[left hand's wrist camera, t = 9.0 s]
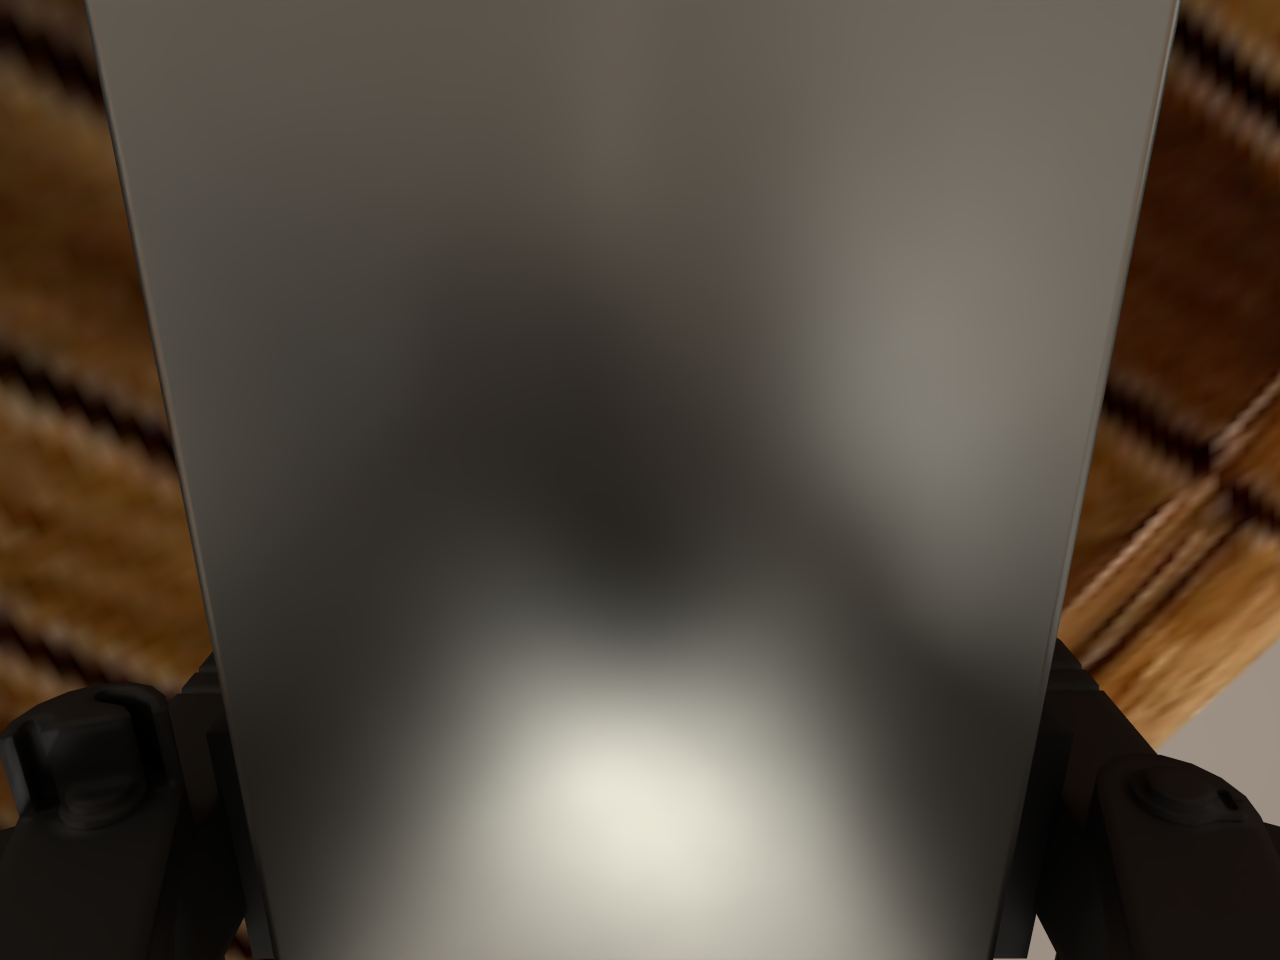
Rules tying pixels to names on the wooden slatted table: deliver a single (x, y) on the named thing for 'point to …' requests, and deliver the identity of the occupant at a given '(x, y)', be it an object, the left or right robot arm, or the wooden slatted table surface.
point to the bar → (633, 446)
